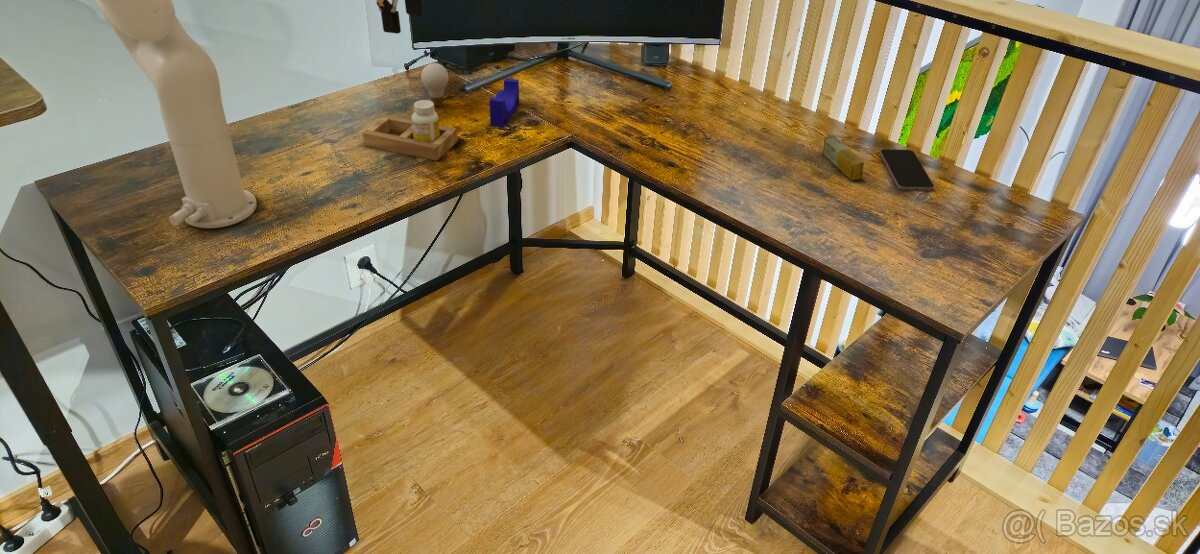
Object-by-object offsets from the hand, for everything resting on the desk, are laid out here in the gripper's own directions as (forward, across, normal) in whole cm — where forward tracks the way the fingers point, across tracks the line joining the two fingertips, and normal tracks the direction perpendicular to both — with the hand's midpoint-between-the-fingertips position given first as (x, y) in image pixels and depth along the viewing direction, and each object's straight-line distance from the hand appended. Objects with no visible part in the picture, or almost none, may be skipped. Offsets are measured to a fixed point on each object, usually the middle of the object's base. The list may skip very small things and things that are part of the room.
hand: (403, 23), depth 157 cm
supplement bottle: (+27, -2, +1) cm, 27 cm away
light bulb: (+27, -21, -5) cm, 34 cm away
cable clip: (+27, -21, +10) cm, 36 cm away
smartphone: (+28, -21, +98) cm, 104 cm away
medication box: (+28, -19, +85) cm, 91 cm away
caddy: (+27, -2, -3) cm, 27 cm away
